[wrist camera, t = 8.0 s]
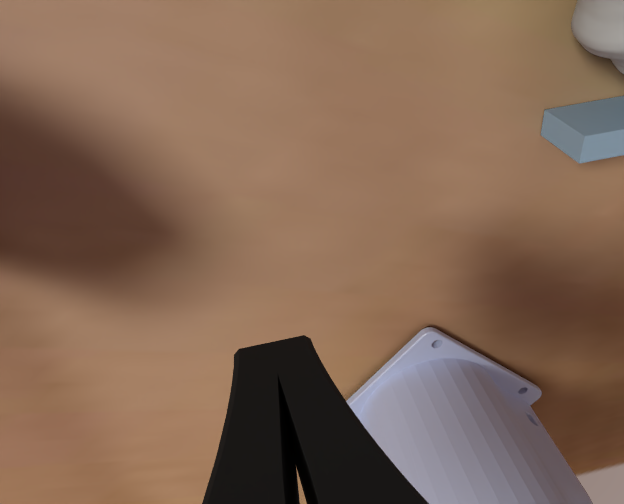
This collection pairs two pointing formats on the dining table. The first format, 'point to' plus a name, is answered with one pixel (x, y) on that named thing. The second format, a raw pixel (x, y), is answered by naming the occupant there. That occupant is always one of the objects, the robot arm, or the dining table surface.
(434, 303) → the dining table surface
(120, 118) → the dining table surface
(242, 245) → the dining table surface
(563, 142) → the socket
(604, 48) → the garlic
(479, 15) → the dining table surface
